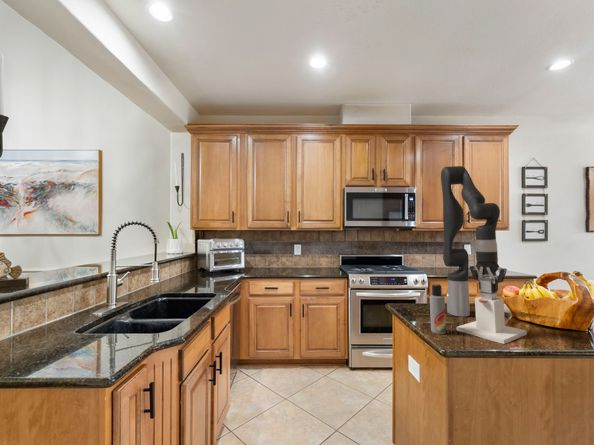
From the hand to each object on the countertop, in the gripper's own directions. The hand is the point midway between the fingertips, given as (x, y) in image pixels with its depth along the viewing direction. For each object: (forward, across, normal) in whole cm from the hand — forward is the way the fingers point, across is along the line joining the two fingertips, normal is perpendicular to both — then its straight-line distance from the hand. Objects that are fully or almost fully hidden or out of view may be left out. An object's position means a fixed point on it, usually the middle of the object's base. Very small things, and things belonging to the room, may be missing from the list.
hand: (488, 291), depth 119 cm
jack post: (+14, 0, 0) cm, 14 cm away
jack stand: (+17, 0, 0) cm, 17 cm away
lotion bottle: (+17, +12, +17) cm, 27 cm away
